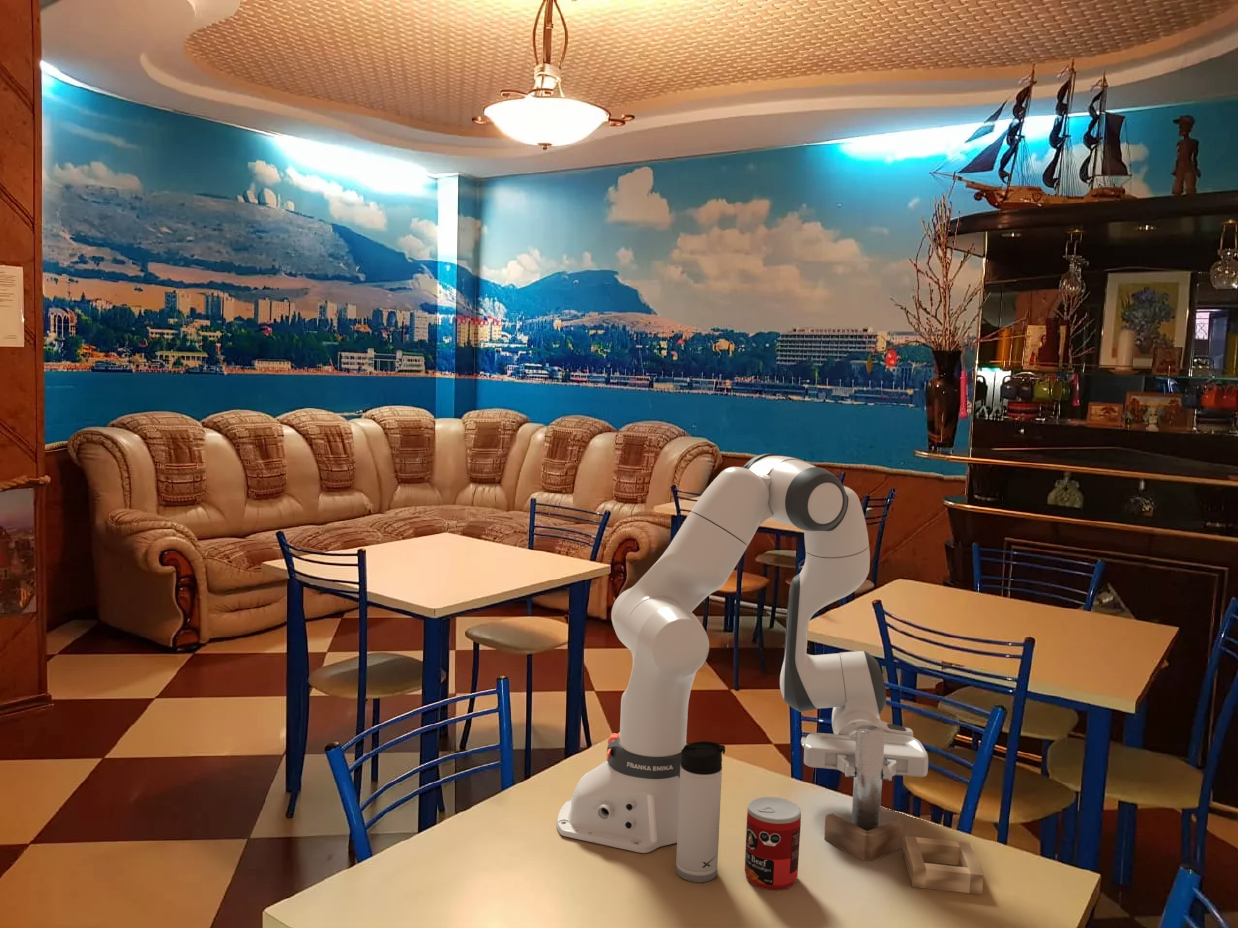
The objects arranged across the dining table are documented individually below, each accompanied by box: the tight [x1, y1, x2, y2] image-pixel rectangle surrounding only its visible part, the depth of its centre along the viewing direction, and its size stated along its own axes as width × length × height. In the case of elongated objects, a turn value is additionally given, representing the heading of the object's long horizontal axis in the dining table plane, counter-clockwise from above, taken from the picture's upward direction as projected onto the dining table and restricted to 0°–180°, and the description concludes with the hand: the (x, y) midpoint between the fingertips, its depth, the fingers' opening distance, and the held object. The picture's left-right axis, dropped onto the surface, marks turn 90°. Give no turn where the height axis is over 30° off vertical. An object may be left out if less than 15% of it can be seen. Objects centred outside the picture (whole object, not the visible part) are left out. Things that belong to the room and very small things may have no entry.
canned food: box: [744, 796, 802, 891], centre depth 141 cm, size 8×8×11 cm
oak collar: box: [902, 835, 984, 896], centre depth 145 cm, size 10×10×3 cm
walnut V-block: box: [824, 813, 905, 862], centre depth 151 cm, size 12×7×4 cm, turn 81°
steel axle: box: [851, 725, 885, 831], centre depth 152 cm, size 4×4×16 cm
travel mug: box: [675, 740, 726, 883], centre depth 142 cm, size 6×7×20 cm
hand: (868, 774), depth 151 cm, fingers closed on steel axle, 4 cm apart
